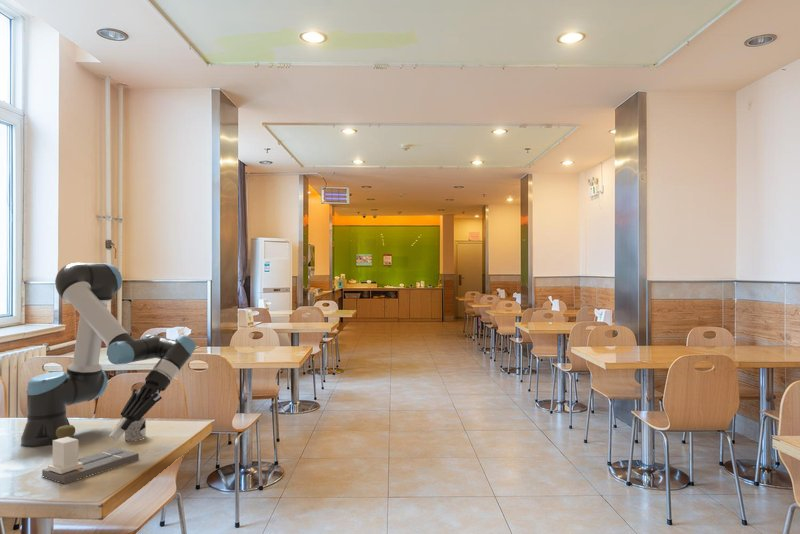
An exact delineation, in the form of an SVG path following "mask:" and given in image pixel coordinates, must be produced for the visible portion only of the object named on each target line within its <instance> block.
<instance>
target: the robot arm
mask: <svg viewBox="0 0 800 534" xmlns="http://www.w3.org/2000/svg"><path fill="white" fill-rule="evenodd" d="M54 281H55V282H54V283H55V284H54V285H55V288H56V289H55V290H56V291H57V293H58V295H59V296H60V298H62V300H63V301H64V302H65V303H67V304H68V303H69V304H70V305H72V307H73V309H75V310H76V311H77V313H78V314H79V317H78V323H77V324H78V325H77V331H76V339H75V346H74V352H73V357H72V359H73V360H72V363H70V364H69V365H68V366H67V369H66V372H65V371H52V372H46V373H42V374H38V375H36V376H33V377H32V378H30V379H29V381H28V382H27V387H26V398H27V399H26V400H27V401H26V405H27V407H26V410H27V413H26V416H27V418H26V419H27V420H26V423H25V426H24V428H23V432H22V434H21V438H20V445H22V446H25V447H38V446H39V447H40V446H45V445H47V446H48V445H53V440H57V439H58V437H57V436H56V430H57V428H59V427H61V426H65V425H71V424H70V421H69V419H68V417H67V407H68V406H72V405H76V404H80V403H85V402H90V401H92V400H95V399H98V398H99V397H101V396H102V395H103V394H104V393H105V391H106V389H107V387H108V376H107V373H106V372H105V371H104V370H103V366H102V365H101V364H100V357H101V348H102V342H103V343H104V344H105V345H106V347H107V349H106V356H107V360H108V361H109V362H110V363H111V364H113V365H125V364H129V363H130V364H131V363H135V362H141V361H147V360H153V359H159V360H158V362H157V363H156V364H155V365H154V366H153V368H152V370H150V372H149V373H148V374H147V375H146V377H145V378H144V380H145V383H144V384H143V385H142V386H141V388H139V389H137V388H134V389H133V390H132V393H131V396H130V397H129V400H127V403H126V404H125V406H124V407H123V409H122V411H121V412H120V415H121V417H122V418H121V419H120V421H119V422H118V423H117V424H116V426H115V427H114V429H113V430H112V431H111V432H110V434H109V435H108V436H109V437H110V438H111V439H113V440H114V441H119V440H120V438H121V437H122V436H123V434H125V431H126V430H127V428H128V427H129V426H130V425H131V423H132V422H134V421H139V420H140V419H141V418H144V416H145V415H146V414H147V413H148V412H149V411H150V410H151V409H152V408H153V406H155V405H156V403H158V402H159V401H160V400H162V397H163V396H161V395H160V393H161V392H163V391H166V389H168V387H169V385H170V384H171V382H172V381H173V380H174V378H175V377H176V376H177V374H178V373H179V372H180V371H181V369H182V368H183V367H184V366H185V364H186V362H187V361H188V360H189V359H190V358H191V357H192V355H193V353H194V352H195V350H196V348H197V344H196V342H195V340H193V339H192V338H191V337H189V336H187V335H184V334H180V335H178V336H177V337H176V338H175V339H170V338H166V337H163V336H160V335H158V334H152V333H151V334H150V333H149V334H146V335H144V336H143V337H141V338H137V339H134V338H133V337H132V335H130V333H128V331H127V330H126V329H125V328H124V327H123V326H122V324H121V323H120V322H119V321H118V319H117V318H116V317H115V316H114V315H113V314H112V313H111V312H110V310H109V309H108V308H107V307H108V303H110V302H111V301H113V297H114V294H116V293H118V292H119V290H121V288H122V286H123V277H122V274H121V272H120V271H119V269H118V268H117V267H116V265H113V264H111V263H104V262H71V263H69V264H66V265H64V266H63V267H61V268H60V270H58V272H57V274H56V276H55V280H54Z"/></svg>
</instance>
